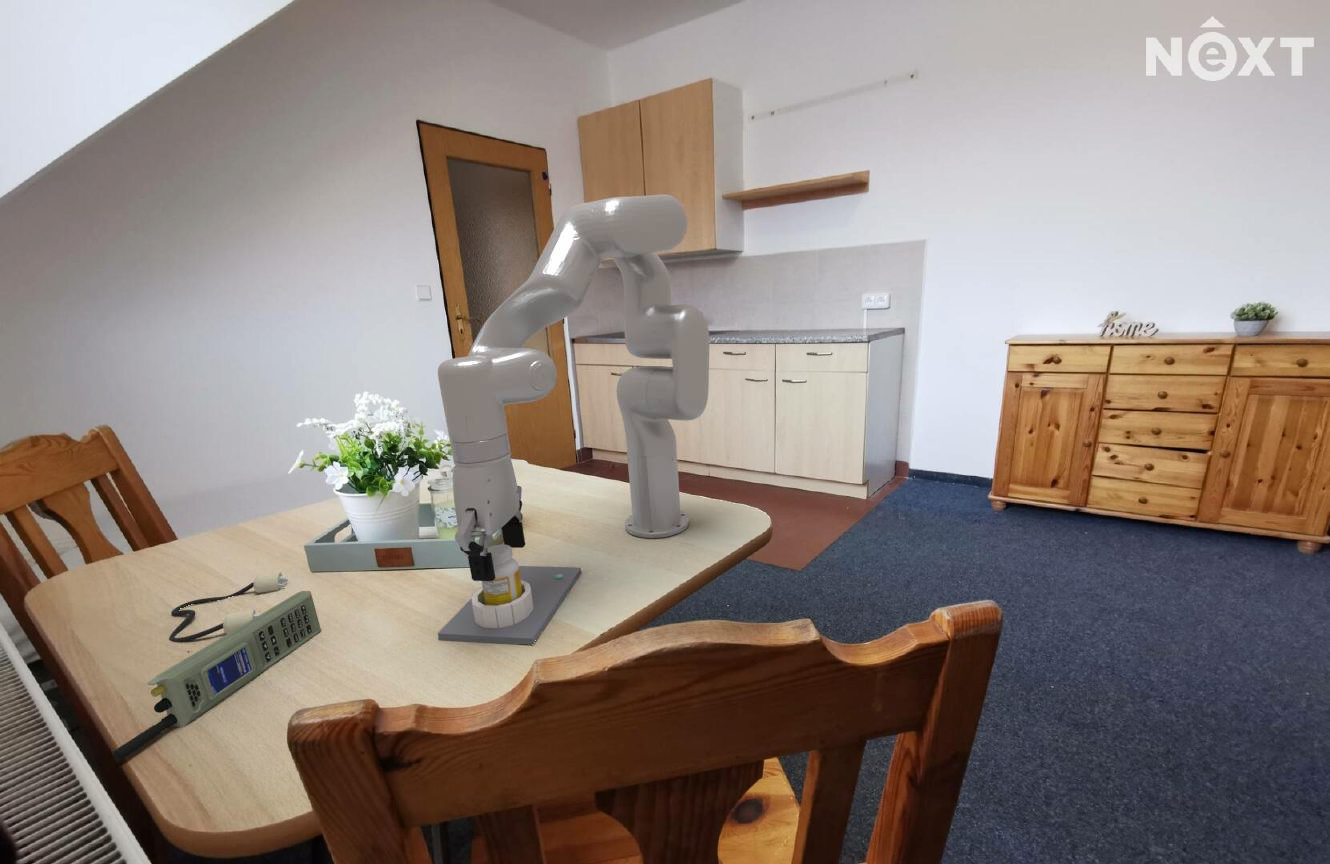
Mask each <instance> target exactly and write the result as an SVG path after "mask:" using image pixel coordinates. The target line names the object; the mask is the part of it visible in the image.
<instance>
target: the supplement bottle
mask: <svg viewBox="0 0 1330 864" xmlns="http://www.w3.org/2000/svg"><path fill="white" fill-rule="evenodd" d="M488 553H491V555H492V560H493V566H494V572H495V579H494V580H493V581H481V585H482V586H481V587H483V593H484V600H485V605H491V606H498V605H502V604H506V603H510V602H512V601H514V600H516V599H518V598H520V597H521V596H522V587H521V579H520V571H519V566H520V565H519V563H518V561H517V560H516V559H515V558H513V555H514V554H513V550H512V548H511V546H509V545H504V543H503V544H501V543H500V544H496V545H495V544H494V545H490V546H489V548H488Z"/></svg>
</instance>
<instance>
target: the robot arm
mask: <svg viewBox="0 0 1330 864" xmlns="http://www.w3.org/2000/svg"><path fill="white" fill-rule="evenodd" d="M687 230H688V217H687V212H686V210H685V208H684V206H683V204H682V203H681V202H680V201H679V200H678V199H677V198H676V197H674V196H673V195H670V194H666V193H665V194H663V193H662V194H653V195H638V196H637V195H635V196H615V197H608V198H604V199H599V200H593V201H589V202H584V203H583V202H582V203H578V204H576V205H573V206H571V207H569V208H568V209H566V210H565V211H563V213H562V215H561V216H560V217H559V219H558V221H557V223H556V225H555V227H554V229H553V231H552V232H551V235H550V237H549V239H548V240H547V243H546V245H545V246H544V248H543V251H542V252H541V255H540V256H539V258H538V260H537V262H536V265H535V267H534V268H533V271H532V272H531V274H530V275H529V277H528V279H527V280H525V282H524V283H522V285H521V286H519V287H518V288H517V289H516V290H515V291H514V292H513V293H511V295H510V296H509V297H508V298H506V299H505V300H504V301H503V302H502V303H501V304H499V306H498V307H497V308H496V309H495V310H494V311H493V312H492V313H491V315H490V316H488V318H487V320H486V321H485V322H484V323H483V325H482V326H481V328H480V330H479V332H478V333H477V336H476V338H475V340H474V341H473V344H472V346H471V348H470V350H469V352H468V353H467V356H462V357H461V356H460V357H454V358H451V359H450V358H449V359H446V360H444V361H442V362H441V363H440V364H439V365H438V367H437V377H438V384H439V389H440V395H441V399H442V405H443V410H444V411H443V412H444V417H445V423H446V428H447V435H448V439H449V444H450V449H451V456H452V461H453V464H454V466H453V468H452V490H453V491H452V493H453V500H454V501H453V503H454V511H455V512H454V513H455V518H456V525H457V530H456V532H455V534H454V540H455V541H456V542H457V545H458V546H459V548H460V551H462V553H464V554H463V555H464V556H466V557H467V560H468V566H469V570H470V576H471V579H472V581H474V582H482V581H493V580H494V579H495V572H494V566H493V560H492V555H491V553H488V548H489V547H490V542H491V541H490V540H491V538H492V537H493V535H495V534H496V533H497V532H498V531H500V530H501V534H502V538H503V544H504V545H509V546H511V548H514V549H515V548H516V549H518V548H519V549H520V548H524V547H526V540H525V534H524V533H525V532H524V526H523V522H522V521H523V519H524V517H523V513H522V512H521V511H522V506H523V501H522V492H523V491H522V486H520V485H518V484H517V477H516V473H515V468H514V466H513V461H512V457H511V456H512V451H511V446H510V439H509V433H508V432H509V431H508V427H507V426H508V425H507V420H506V418H507V417H506V412H505V406H507V405H514V404H523V403H533V402H536V401H539V400H542V399H543V398H545V397H547V396H548V395H549V394H550V393H551V392H552V391H553V389H554V388H555V386H556V383H557V379H558V371H557V365H556V364H555V362H554V361H553V359H552V358H551V357H550V356H549V355H548V354H547V353H546V352H543V351H541V350H539V349H535V348H530V347H529V348H528V347H524V346H525V345H526V344H527V342H529V340H531V338H533V337H534V336H536V334H538V333H539V332H541V331H542V330H545V328H548V327H550V326H552V325H554V324H556V323H558V322H560V321H561V320H564V319H565V318H567V317H568V316H570V315H572V314H573V313H575V312H576V311H578V310H579V309H580V308H581V306H582V304H583V302H584V300H585V298H586V295H587V293H588V291H589V289H590V286H591V284H592V282H593V280H594V278H595V276H596V273H597V271H598V270H599V267H600V265H601V263H602V262H603V261H604V260H606V259H612V260H613V262H614V264H616V266H617V268H618V269H619V270H618V271H619V272H620V275H621V277H622V280H623V295H624V297H623V298H624V301H623V302H624V312H623V313H624V341H625V346H626V349H627V351H628V352H629V354H631V355H632V356H633V357H637V358H640V359H652V360H671V361H672V363H671V364H672V366H664V365H663V366H662V365H655V366H654V365H640V366H639V365H638V366H635V367H631V368H628V369H627V370H625V371H624V372H623V373H622V374H621V375H620V377H619V379H618V381H617V385H616V392H615V393H616V400H617V403H618V407H619V411H620V414H621V417H622V421H623V426H624V432H625V442H626V443H625V444H626V455H627V456H626V457H627V466H628V479H629V491H630V492H629V493H630V501H631V502H630V503H631V515H629V517H627V518H626V519H625V522H624V524H625V530H626V532H628V533H629V534H631V535H633V536H635V537H638V538H646V539H656V538H658V539H661V538H667V537H670V536H675V535H677V534H679V533H682V532H683V531H685V530H686V529H687V528H688V527H689V525H690V524H689V523H690V519H689V516H688V514H686V513H685V512H683V511H682V510H681V500H680V498H681V497H680V487H679V486H680V485H679V484H680V482H679V470H678V469H679V466H678V452H677V451H678V450H677V449H678V448H677V438H676V434H675V431H674V429H673V427H672V425H671V422H670V421H669V420H671V421H672V420H673V421H687V422H688V421H693V420H694V421H695V419H699V417H701V416H702V414H703V413H704V412H705V409H706V407H707V405H708V398H709V386H710V385H709V383H710V382H709V381H710V330H709V325H708V323H707V319H706V317H705V315H704V313H703V312H702V311H701V309H700V308H698V307H696V306H694V305H691V304H672V294H671V278H670V274H669V272H668V269H667V267H666V265H665V262H664V261H662V259H661V258H660V256H659V255H658V254H657V253H656V252H662V251H663V252H664V251H667V250H673V249H674V248H677V247H678V246H679V245H680V244H681V243H682V242H683V240H684V238H685V236H686V233H687ZM478 529H480V530H481V529H482V530H481V531H480V530H478ZM476 538H481V543H480V544H479V543H478V542H476Z"/></svg>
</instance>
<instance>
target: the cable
mask: <svg viewBox="0 0 1330 864" xmlns="http://www.w3.org/2000/svg"><path fill="white" fill-rule="evenodd" d="M288 582H289V579H288V578H287V577H286V576H283V574H282V572H272V573H260V574H257V575H256V577H255V578H254V580H253V582H251V583H249V584H248V585H246V586H244V587H243V588H241V589H239V590H238V591H236V592H234V593H231V594H229V595H225V596H215V597H206V598H199V599H194V600H191V601H187V602H184V603H183V604H180V605H177V607H175V608H173V610H171V615H172V616H183V615H187V617H185V619H183V620H182V622H181V623H179V625H178V626H177V627H176V628H175V629H174V630H173V631H172V633H171V634H170V636H169V637H168V640H169V642H172V643H185V642H190V641H193V640H197V639H200V638H202V637H205V636H208V635H211V634H214V633H215V632H217V631H219V630H223V631H224V633H225V635H227V634H228V633H230V632H232V631H233V630H235V629H237V628H239V627H240V626H242V625H244V624H245V623H247V622H249V621H250V620H252V619H254V618H256V617H257V616H259V615H261V614H262V613H257V612H256V610H255V609H250V610H242V611H238V612H232V613H228V614H227V615H226V616H225V617H224V620H223V621H222V623H219V624H217V625H215V626H213V627H211V628H208V629H205V630H202V631H201V632H197V633H195V634H191V635H186V636H182V637H176V636H177V635H178V634H179V633H180V632H181V631H182V630H183V629H184V628H185V627H186V626H188V624H189V623H190V622H191V621H192V619H193V618H195V616H196V611H195V610H194V609H185V608H187V607H186V606H188V605H191V604H196V605H199V604H198V603H201V604H205V603H204V602H208V603H210V602H209V601H215V602H218V601H217V600H220V601H223V600H226V599H229V598H228V597H230V598H233V597H232V596H234V597H238V596H242V594H245V593H246V592H248V591H249V590H251V589H254V592H256V593H257V594H262V593H264V594H265V593H270V592H276V591H280V589H281V588H286V583H288ZM191 606H192V605H191ZM184 607H185V608H184ZM188 607H189V606H188ZM180 608H183V609H181V610H180ZM179 610H180V611H179Z"/></svg>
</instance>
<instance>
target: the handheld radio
mask: <svg viewBox="0 0 1330 864" xmlns="http://www.w3.org/2000/svg"><path fill="white" fill-rule="evenodd" d="M260 614H261V615H259V616H257V617H256V618H254V619H252V620H250V621H249V622H247V623H245V624H244V625H242V626H240V627H239V628H237V629H235V630H233V631H232V632H230V633H228V634H225V635H223V636H222V637H220V638H218V639H216V640H215V641H213V642H212V643H210V644H208V645H206V646H205V647H203V648H201V649H200V650H197V651H196V652H194V653H193V654H191V655H189V656H187V657H185V659H183V660H181V661H179V662H177V663H175V664H174V665H173V666H171V667H169V668H168V669H166V670H164V671H162V672H160V673H159V674H158V675H156V676H155V677H154V678H152V679H151V680H149V681H147V682H146V685H148V686H155V685H156V686H155V687H154V688H152V689H151V690H150V695H151V696H152V697H153V698H155V697H158V696H160V698H161V700H159V701H158V702H157V703H156V704H155V705H154V706H153V709H154V712H156V713H158V714H161V713H163V712H166V716H165V717H163V718H162V719H161V720H160V721H158V722H157V723H156V724H153V725H152V726H150V727H149V728H147V729H146V730H143V732H140V733H138V735H136V736H134V737H133V738H132V739H129V740H128V741H127V742H126V743H124V744H122V745H120V746H119V747H118V748H116V749H115V750H112V756H113V758H114V759H115V760H116V761H117V762H122V760H125V759H126V758H127V757H129V756H130V755H132V754H133V753H135V752H136V751H138V750H139V749H140V748H142V747H143V746H145V745H146V744H147V743H150V742H151V741H152V740H153V739H155V738H157V737H158V736H159V735H161V734H162V732H163V731H165V730H166V729H170V728H172V726H173V727H177V728H185V726H187V725H188V724H190V723H191V722H192V721H194V720H195V719H197V718H198V717H200V716H202V715H203V714H204V713H206V712H207V711H209V710H210V709H211V708H213V707H214V706H216V705H217V704H219V703H221V702H222V701H223V700H225V699H226V698H227V697H230V695H232V694H233V693H235V692H236V691H237V690H239V689H240V688H242V687H243V686H245V685H246V684H247V683H249V682H250V681H252V680H253V679H255V678H256V677H258V676H259V675H261V674H262V673H263V672H265V671H266V670H268V669H269V668H271V667H273V665H275V664H277V663H278V662H280V661H281V660H282V659H284V658H285V657H286V656H288V655H290V654H291V653H293V652H294V651H295V650H296V649H298V648H300V647H301V646H302V645H304V644H305V643H307V642H308V641H310V640H311V639H312V638H314V637H316V636H317V635H318V634H320V633H321V632H322V629H321V628H322V627H321V625H320V621H319V618H318V614H317V609H316V606H315V603H314V598H313V595H312V592H311V590H301V591H299V592H297V593H295V594H293V595H291V596H289V597H288V598H286V599H284V600H283V601H281V602H280V603H278V604H276V605H274V606H272V607H271V608H269V609H267V610H266V611H264V612H262V613H260Z"/></svg>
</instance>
